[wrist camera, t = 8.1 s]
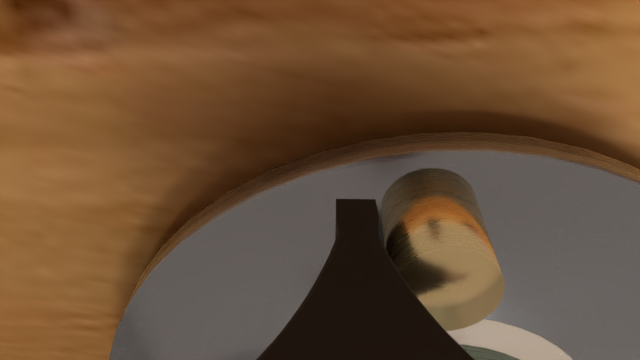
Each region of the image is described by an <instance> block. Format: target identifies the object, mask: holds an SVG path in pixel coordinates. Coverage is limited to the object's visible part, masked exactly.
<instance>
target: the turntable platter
mask: <svg viewBox="0 0 640 360" xmlns="http://www.w3.org/2000/svg"><path fill="white" fill-rule="evenodd" d="M336 199H376V204H377V209H378V216H379V223H378V235H379V237H380V239H381V241H382V243H383V245H384V246H385V248H386V250H387V252H388V253H389V255H390V257H391V259H392V261H393V262H394V264H395V265H396V267H397V269H398V270H399V272H400V273H401V275H402V276H403V278H404V279H405V281H406V282H407V284H408V285H409V287H410V288H411V289H412V291H413V292H414V294H415V295H416V296H417V298H418V299H419V300H420V301H421V303H422V304H423V305H424V306H425V308H426V309H427V310H428V311H429V313H430V314H431V315H432V316H433V317H434V318H435V320H436V321H437V322H438V323H439V324H440V325H441V326H442V328H443V329H444V330H445V331H446V332H447V333H448V334H449V335H450V336H451V337H452V338H453V339H454V340H455V341H456V342H457V343H458V344H463V345H471V346H477V347H483V348H488V349H491V350H495V351H499V352H502V353H505V354H508V355H510V356H513V357H515V358H518V359H520V360H640V169H638V168H636V167H634V166H632V165H630V164H627V163H624V162H621V161H619V160H616V159H613V158H610V157H608V156H605V155H602V154H599V153H597V152H594V151H591V150H588V149H586V148H581V147H577V146H572V145H567V144H563V143H558V142H554V141H549V140H545V139H540V138H536V137H528V136H517V135H506V134H496V133H485V132H448V133H419V134H411V135H404V136H396V137H389V138H381V139H374V140H366V141H362V142H359V143H355V144H351V145H347V146H343V147H339V148H335V149H331V150H327V151H323V152H319V153H315V154H312V155H309V156H307V157H304V158H301V159H299V160H296V161H293V162H291V163H288V164H286V165H283V166H280V167H278V168H275V169H272V170H270V171H267V172H265V173H263V174H261V175H259V176H258V177H256V178H254V179H252V180H250V181H248V182H246V183H244V184H242V185H241V186H239V187H237V188H235V189H233V190H231V191H229V192H227V193H226V194H224V195H222V196H221V197H220V198H218V199H217V200H216V201H214V202H213V203H211V204H210V205H209V206H207V207H206V208H204V209H203V210H202V211H200V212H199V213H197V214H196V215H195V216H193V217H192V218H191V219H189V220H188V221H187V222H186V223H185V224H184V225H183V226H182V227H181V228H180V229H179V230H178V231H177V232H176V233H175V234H174V235H173V236H172V237H171V238H170V239H169V240H168V241H167V242H166V243H165V244H164V245H163V246H162V247H161V248H160V249H159V251H158V252H157V254H156V255H155V256H154V258H153V259H152V260H151V262H150V263H149V265H148V266H147V267H146V269H145V270H144V271H143V273H142V274H141V276H140V278H139V280H138V282H137V285H136V287H135V289H134V291H133V293H132V295H131V297H130V299H129V301H128V304H127V306H126V308H125V311H124V313H123V316H122V318H121V320H120V323H119V325H118V328H117V330H116V333H115V337H114V341H113V345H112V350H111V354H110V358H109V360H256V359H257V358H258V357H259V356H260V355H261V354H262V353H263V352H264V351H265V349H266V348H267V347H268V346H269V345H270V344H271V343H272V342H273V341H274V339H275V338H276V337H277V336H278V335H279V334H280V332H281V331H282V330H283V329H284V327H285V326H286V325H287V323H288V322H289V321H290V319H291V318H292V316H293V315H294V314H295V312H296V311H297V310H298V308H299V307H300V305H301V304H302V302H303V301H304V299H305V298H306V296H307V295H308V293H309V291H310V290H311V288H312V286H313V285H314V283H315V281H316V280H317V278H318V276H319V274H320V272H321V270H322V268H323V266H324V264H325V262H326V260H327V258H328V256H329V254H330V252H331V249H332V247H333V245H334V242H335V230H336Z"/></svg>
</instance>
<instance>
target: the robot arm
mask: <svg viewBox="0 0 640 360" xmlns="http://www.w3.org/2000/svg"><path fill="white" fill-rule="evenodd" d="M378 223H379V216H378V209H377V204H376V199H336V230H335V242H334V245H333V247H332V249H331V252H330V254H329V256H328V258H327V260H326V262H325V264H324V266H323V268H322V270H321V272H320V274H319V276H318V278H317V280H316V281H315V283H314V285H313V286H312V288H311V290H310V291H309V293H308V295H307V296H306V298H305V299H304V301H303V302H302V304H301V305H300V307H299V308H298V310H297V311H296V312H295V314H294V315H293V316H292V318H291V319H290V321H289V322H288V323H287V325H286V326H285V327H284V329H283V330H282V331H281V332H280V334H279V335H278V336H277V337H276V338H275V339H274V341H273V342H272V343H271V344H270V345H269V346H268V347H267V348H266V349H265V351H264V352H263V353H262V354H261V355H260V356H259V357H258V358H257V359H256V360H475V359H473V358H472V357H471V356H470V355H469V354H468V353H467V352H466V351H465V350H464V349H463V348H462V347H461V346H460V345H459V344H458V343H457V342H456V341H455V340H454V339H453V338H452V337H451V336H450V335H449V334H448V333H447V332H446V331H445V330H444V329H443V328H442V326H441V325H440V324H439V323H438V322H437V321H436V320H435V318H434V317H433V316H432V315H431V314H430V313H429V311H428V310H427V309H426V308H425V306H424V305H423V304H422V303H421V301H420V300H419V299H418V298H417V296H416V295H415V294H414V292H413V291H412V289H411V288H410V287H409V285H408V284H407V282H406V281H405V279H404V278H403V276H402V275H401V273H400V272H399V270H398V269H397V267H396V265H395V264H394V262H393V261H392V259H391V257H390V255H389V253H388V252H387V250H386V248H385V246H384V245H383V243H382V241H381V239H380V237H379V235H378Z"/></svg>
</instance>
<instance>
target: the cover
mask: <svg viewBox="0 0 640 360" xmlns="http://www.w3.org/2000/svg"><path fill="white" fill-rule="evenodd" d="M459 345H460V346H461V347H462V348H463V349H464V350H465V351H466V352H467V353H468V354H469V355H470V356H471V357H472V358H473V359H475V360H520V359H518V358H515V357H513V356H510V355H508V354H505V353H502V352H499V351H495V350H491V349H488V348H483V347H477V346H471V345H463V344H459Z"/></svg>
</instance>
